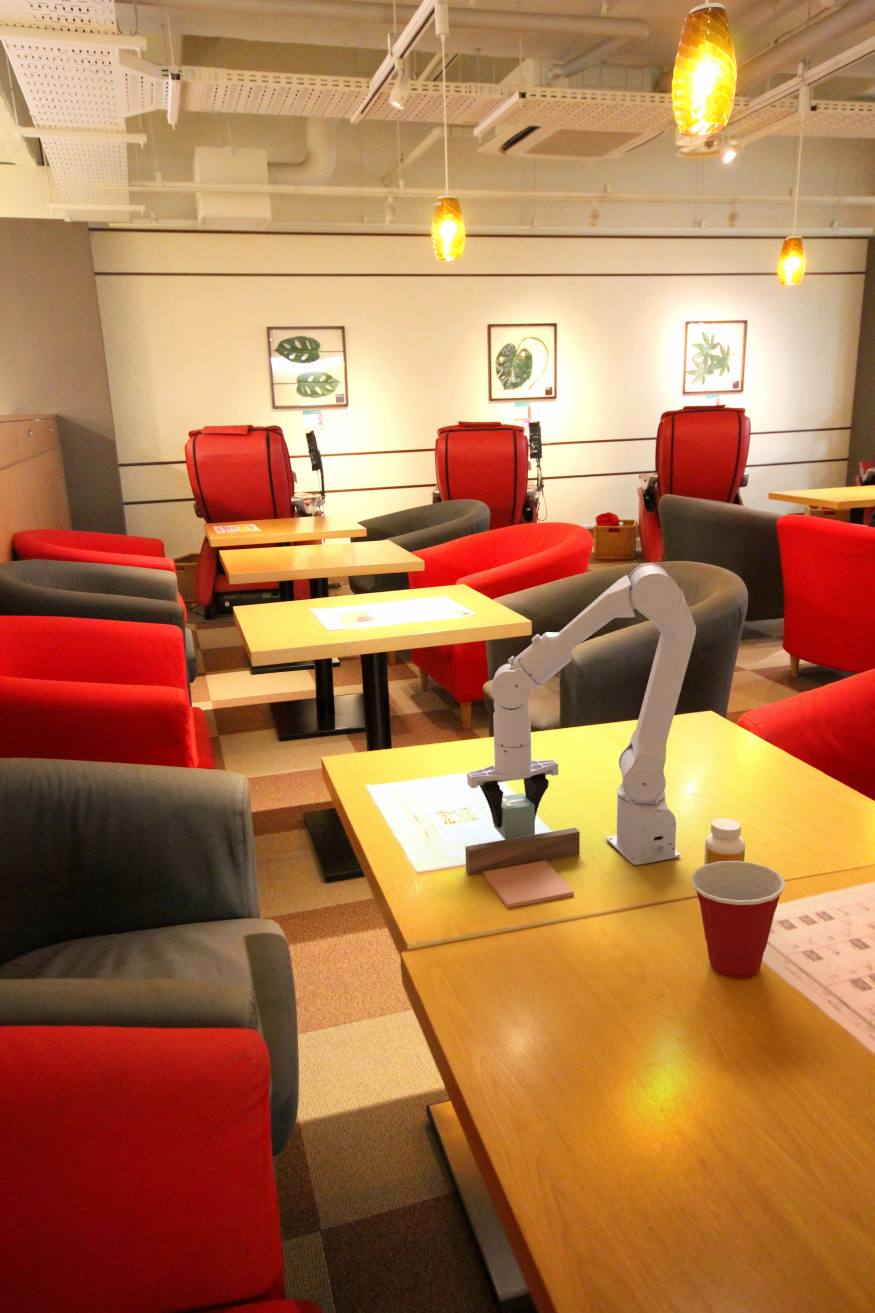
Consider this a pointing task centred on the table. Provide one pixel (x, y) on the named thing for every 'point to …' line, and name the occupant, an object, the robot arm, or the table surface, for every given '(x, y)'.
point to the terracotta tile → (527, 884)
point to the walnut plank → (522, 850)
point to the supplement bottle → (724, 842)
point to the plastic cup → (737, 913)
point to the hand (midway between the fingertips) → (514, 822)
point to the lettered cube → (517, 817)
